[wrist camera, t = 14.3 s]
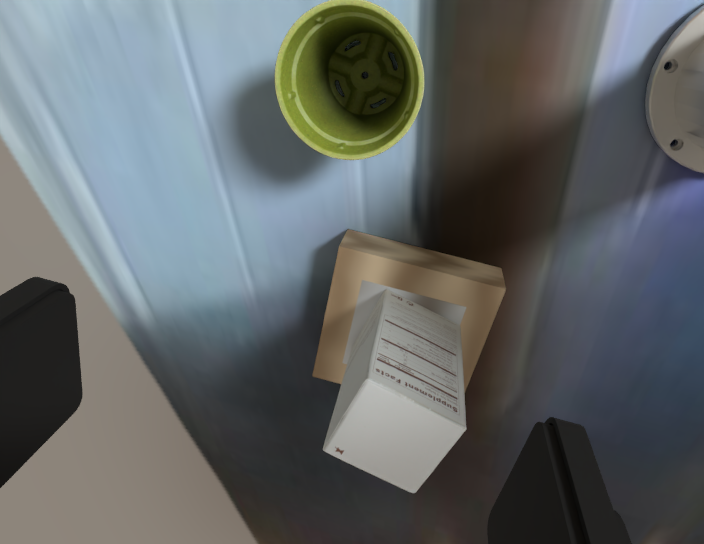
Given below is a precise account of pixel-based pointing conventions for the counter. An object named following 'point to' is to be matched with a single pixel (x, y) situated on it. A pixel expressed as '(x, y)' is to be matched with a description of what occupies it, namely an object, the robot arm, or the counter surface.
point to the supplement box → (400, 394)
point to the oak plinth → (411, 283)
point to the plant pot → (349, 79)
